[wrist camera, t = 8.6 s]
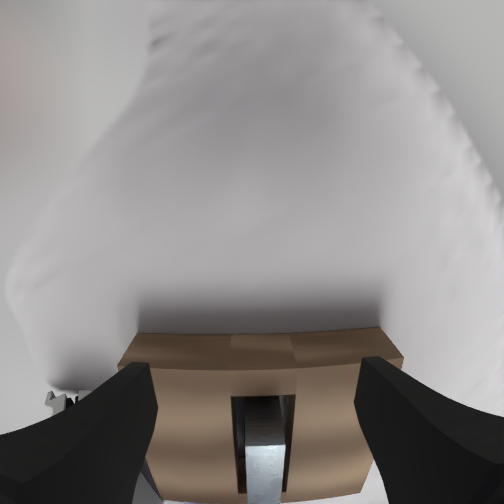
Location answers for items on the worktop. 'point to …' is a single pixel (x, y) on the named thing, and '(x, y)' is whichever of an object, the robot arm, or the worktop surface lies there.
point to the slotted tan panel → (257, 384)
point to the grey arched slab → (144, 495)
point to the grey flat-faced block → (264, 449)
